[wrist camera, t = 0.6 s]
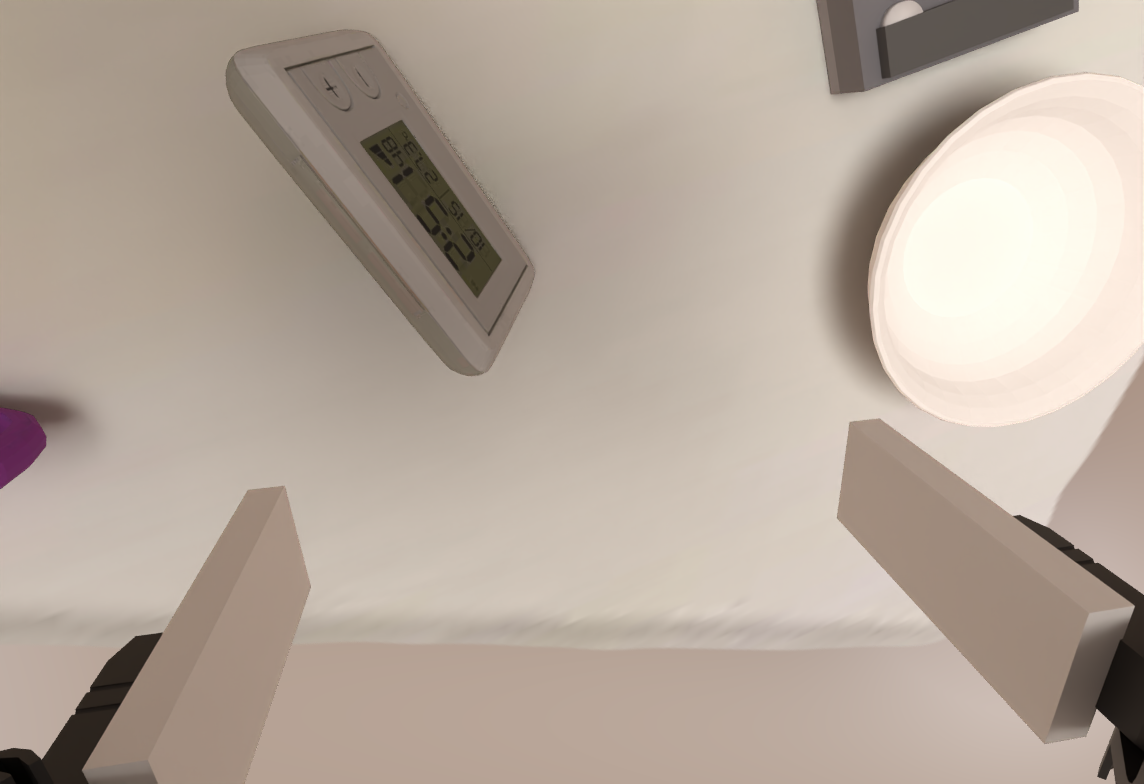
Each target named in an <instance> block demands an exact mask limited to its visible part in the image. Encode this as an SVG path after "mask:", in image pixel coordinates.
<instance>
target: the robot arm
mask: <svg viewBox="0 0 1144 784" xmlns="http://www.w3.org/2000/svg"><path fill="white" fill-rule="evenodd" d="M837 519H838V520H839V521H840V522H841V523H842V524H843V525H844V526H845V527H846V528H847V530H848V531H849V532H850V533H851V534H852V535H853V536H854V537H855V538H856V539H857V540H858V542H859V543H860V544H861V545H862V546H863V547H864V548H865V549H866V550H867V551H868V552H869V553H870V555H871V556H872V557H873V558H874V559H875V560H876V561H877V562H878V563H879V564H880V565H881V567H882V568H883V569H884V570H885V571H886V572H887V573H888V574H889V575H890V576H891V577H892V579H893V580H894V581H895V582H896V583H897V584H898V585H899V586H900V587H901V588H902V589H903V590H904V592H905V593H906V594H907V595H908V596H909V597H910V598H911V599H912V600H913V601H914V602H915V604H916V605H917V606H918V607H919V608H920V609H921V610H922V611H923V612H924V613H925V614H926V616H927V617H928V618H929V619H930V620H931V621H932V622H933V623H934V624H935V625H936V626H937V627H938V629H939V630H940V631H941V632H942V633H943V634H944V635H945V636H946V637H947V638H948V639H949V640H950V642H951V643H952V644H953V645H954V646H955V647H956V648H957V649H958V650H959V651H960V652H961V654H962V655H963V656H964V657H965V658H966V659H967V660H968V661H969V662H970V663H971V664H972V666H973V667H974V668H975V669H976V670H977V671H978V672H979V673H980V674H981V675H982V676H983V677H984V679H985V680H986V681H987V682H988V683H989V684H990V685H991V686H992V687H993V688H994V689H995V690H996V692H997V693H998V694H999V695H1000V696H1001V697H1002V698H1003V699H1004V700H1005V701H1006V703H1007V704H1008V705H1009V706H1010V707H1011V708H1012V709H1013V710H1014V711H1015V712H1016V713H1017V714H1018V716H1019V717H1020V718H1021V719H1022V720H1023V721H1024V722H1025V723H1026V724H1027V725H1028V726H1029V727H1030V729H1031V730H1032V731H1033V732H1034V733H1035V734H1036V735H1037V736H1038V737H1039V738H1040V739H1041V741H1042V742H1043V743H1044V744H1047V743H1053V742H1058V741H1064V740H1070V739H1074V738H1081V737H1086V736H1087V733H1088V731H1089V728H1090V725H1091V723H1092V720H1093V717H1094V715H1095V712H1096V709H1098V710H1099V711H1100V712H1101V713H1102V714H1103V715H1104V716H1105V717H1106V718H1107V719H1108V720H1109V721H1111V723H1113V724H1114V725H1115V729H1114V731H1113V734H1112V736H1111V739H1110V741H1109V744H1108V746H1107V749H1106V752H1105V754H1104V757H1103V759H1102V762H1101V764H1100V767H1099V772H1098V777H1099V778H1102V779H1105V780H1106V778H1107V776H1108V773H1109V771H1110V769H1113V768H1114V775H1115V781H1116V784H1144V595H1143V594H1142V593H1140V592H1139V591H1137V590H1136V589H1134V588H1133V587H1132V586H1130V585H1129V584H1128V583H1126V582H1125V581H1123V580H1122V579H1120V578H1119V577H1118V576H1116V575H1115V574H1113V573H1112V572H1111V571H1109V570H1108V569H1106V568H1105V567H1104V566H1102V565H1101V564H1099V563H1094V561H1093V559H1092V558H1091V557H1089V556H1088V555H1087V554H1085V553H1084V552H1082V551H1081V550H1079V549H1074V545H1072V544H1071V543H1070V542H1068V541H1067V540H1065V539H1064V538H1063V537H1061V536H1060V535H1058V534H1057V533H1055V532H1054V531H1052V530H1051V529H1050V528H1048V527H1045V526H1043V525H1041V524H1039V523H1036V522H1034V521H1032V520H1030V519H1027V518H1025V517H1023V516H1021V515H1017V516H1012V515H1010V514H1009V513H1008V512H1006V511H1005V510H1003V509H1002V508H1001V507H999V506H998V505H997V504H995V503H994V502H993V501H991V500H990V499H988V498H987V497H986V496H984V495H983V494H982V493H980V492H979V491H978V490H976V489H975V488H973V487H972V486H971V485H969V484H968V483H967V482H965V481H964V480H963V479H961V478H960V477H958V476H957V475H956V474H954V473H953V472H952V471H950V470H949V469H948V468H946V467H945V466H943V465H942V464H941V463H939V462H938V461H937V460H935V459H934V458H933V457H931V456H930V455H928V454H927V453H926V452H924V451H923V450H922V449H920V448H919V447H918V446H916V445H915V444H913V443H912V442H911V441H909V440H908V439H907V438H905V437H904V436H903V435H901V434H900V433H898V432H897V431H896V430H894V429H893V428H892V427H890V426H889V425H888V424H886V423H885V422H883V421H882V420H881V419H871V420H862V421H853V422H850V424H849V431H848V439H847V446H846V454H845V461H844V469H843V476H842V484H841V491H840V498H839V506H838V513H837ZM310 588H311V585H310V582H309V578H308V574H307V570H306V566H305V562H304V558H303V554H302V551H301V547H300V543H299V539H298V535H297V531H296V527H295V524H294V520H293V516H292V512H291V508H290V504H289V500H288V497H287V493H286V489H285V486H279V487H270V488H261V489H253V490H248V491H247V493H246V494H245V496H244V498H243V499H242V501H241V503H240V504H239V506H238V508H237V509H236V511H235V513H234V515H233V516H232V518H231V520H230V521H229V523H228V525H227V526H226V528H225V530H224V531H223V533H222V535H221V536H220V538H219V540H218V541H217V543H216V545H215V547H214V548H213V550H212V552H211V553H210V555H209V557H208V558H207V560H206V562H205V563H204V565H203V567H202V568H201V570H200V572H199V574H198V575H197V577H196V579H195V580H194V582H193V584H192V585H191V587H190V589H189V590H188V592H187V594H186V595H185V597H184V599H183V600H182V602H181V604H180V606H179V607H178V609H177V611H176V612H175V614H174V616H173V617H172V619H171V621H170V622H169V624H168V626H167V627H166V629H165V631H164V633H157V634H149V635H142V636H135V637H134V638H133V639H132V640H131V641H130V642H129V643H128V644H126V645H125V646H124V647H123V648H122V649H121V650H120V651H118V652H117V653H116V654H115V655H114V656H113V657H112V658H111V659H109V660H108V662H107V663H106V664H105V666H104V667H103V669H102V670H101V672H100V673H99V675H98V676H97V678H96V679H95V681H94V682H93V684H92V685H91V687H90V692H88V693H86V694H85V696H84V697H83V699H82V700H81V702H80V703H79V705H78V706H77V708H76V713H75V715H72V716H71V717H70V718H69V720H68V721H67V723H66V724H65V726H64V728H63V729H62V730H61V732H60V733H59V735H58V737H57V738H56V740H55V741H54V743H53V744H52V746H51V747H50V749H49V750H48V752H47V753H46V755H45V756H44V758H43V759H42V760H41V758H39V757H38V756H37V755H36V754H35V753H34V752H33V751H32V750H28V749H18V748H11V749H7V750H3V751H0V784H245V780H246V777H247V775H248V772H249V769H250V766H251V763H252V760H253V757H254V754H255V751H256V748H257V745H258V742H259V739H260V736H261V733H262V730H263V727H264V724H265V721H266V718H267V716H268V713H269V710H270V706H271V704H272V700H273V698H274V695H275V692H276V689H277V686H278V683H279V680H280V677H281V674H282V671H283V668H284V665H285V662H286V659H287V656H288V653H289V650H290V647H291V644H292V641H293V638H294V635H295V632H296V629H297V626H298V624H299V621H300V618H301V615H302V612H303V609H304V606H305V603H306V600H307V597H308V594H309V591H310Z"/></svg>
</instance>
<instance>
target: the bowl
mask: <svg viewBox="0 0 1144 784" xmlns="http://www.w3.org/2000/svg"><path fill="white" fill-rule="evenodd" d="M867 293H868V300H869V312H870V320H871V327H872V335H873V342H874V344H875V347H876V350H877V353H878V355H879V358H880V361H881V364H882V366H883V369H884V370H885V372H886V373H887V375H888V376H889V378H890V379H891V381H892V382H893V384H894V385H895V387H896V388H897V390H898V391H899V392H900V393H901V394H903V395H904V396H905V397H906V398H907V399H908V400H909V401H911V402H912V403H913V404H914V405H915V406H916V407H917V408H919V409H921V410H923V411H925V412H927V413H929V414H931V415H933V416H935V417H937V418H939V419H941V420H944V421H949V422H953V423H957V424H961V425H966V426H995V427H998V426H1003V425H1009V424H1015V423H1020V422H1026V421H1029V420H1032V419H1035V418H1037V417H1040V416H1043V415H1046V414H1049V413H1051V412H1054V411H1056V410H1058V409H1060V408H1062V407H1064V406H1066V405H1068V404H1069V403H1071V402H1073V401H1075V400H1077V399H1079V398H1081V397H1082V396H1084V395H1086V394H1087V393H1088V392H1090V391H1091V390H1092V389H1094V388H1095V387H1096V386H1098V385H1099V384H1101V383H1102V382H1103V381H1105V380H1106V379H1107V378H1109V377H1110V376H1111V375H1112V374H1113V373H1115V372H1116V371H1117V370H1118V369H1119V368H1120V367H1121V366H1122V365H1123V364H1124V363H1125V362H1126V361H1127V360H1128V359H1129V358H1130V357H1131V356H1132V355H1133V354H1134V353H1135V352H1136V351H1137V350H1138V349H1139V348H1140V346H1141V345H1142V344H1143V343H1144V86H1141V85H1139V84H1136V83H1134V82H1131V81H1129V80H1127V79H1124V78H1122V77H1119V76H1114V75H1105V74H1097V73H1088V72H1083V73H1075V74H1067V75H1059V76H1052V77H1048V78H1045V79H1042V80H1039V81H1036V82H1034V83H1031V84H1028V85H1025V86H1022V87H1019V88H1017V89H1014V90H1012V91H1010V92H1009V93H1007V94H1005V95H1004V96H1002V97H1000V98H998V99H997V100H995V101H993V102H991V103H990V104H988V105H986V106H985V107H983V108H981V109H979V110H978V111H977V112H976V113H974V114H973V115H972V116H971V117H970V118H968V119H967V120H966V121H965V122H964V123H962V124H961V125H960V126H959V127H958V128H956V129H955V130H954V131H953V132H952V133H950V134H949V135H948V136H947V137H946V138H945V139H944V140H943V141H942V142H941V144H940V145H939V146H938V147H937V148H936V149H935V150H934V151H933V152H932V153H930V154H929V155H928V156H927V157H926V158H925V159H924V160H923V162H922V163H921V164H920V165H919V166H918V167H917V168H916V170H915V171H914V172H913V173H912V174H911V175H910V176H909V178H908V179H907V180H906V181H905V183H904V184H903V186H902V187H901V189H900V191H899V192H898V194H897V195H896V197H895V198H894V200H893V202H892V203H891V205H890V206H889V208H888V210H887V213H886V215H885V217H884V220H883V222H882V224H881V227H880V229H879V231H878V233H877V236H876V240H875V244H874V248H873V252H872V256H871V260H870V264H869V276H868V291H867Z"/></svg>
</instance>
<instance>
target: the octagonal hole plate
mask: <svg viewBox="0 0 1144 784" xmlns="http://www.w3.org/2000/svg"><path fill="white" fill-rule="evenodd" d="M817 6H818V12H819V19H820V25H821V32H822V38H823V45H824V51H825V58H826V64H827V71H828V77H829V84H830V90H831V94H839V93H851V92H862V91H867V90H870V89H872V88H875V87H878V86H880V85H883V84H886V83H888V82H891V81H894V80H896V79H899V78H902V77H904V76H907V75H910V74H912V73H915V72H918V71H920V70H923V69H926V68H928V67H931V66H934V65H936V64H939V63H942V62H944V61H947V60H950V59H952V58H955V57H958V56H960V55H963V54H966V53H968V52H971V51H974V50H976V49H979V48H982V47H984V46H987V45H990V44H992V43H995V42H998V41H1000V40H1003V39H1006V38H1008V37H1011V36H1014V35H1016V34H1019V33H1022V32H1024V31H1027V30H1030V29H1032V28H1035V27H1038V26H1040V25H1043V24H1046V23H1048V22H1051V21H1054V20H1057V19H1059V18H1062V17H1065V16H1067V15H1070V14H1073V13H1075V12H1078V11H1079V0H817Z"/></svg>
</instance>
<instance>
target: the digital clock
mask: <svg viewBox="0 0 1144 784" xmlns="http://www.w3.org/2000/svg"><path fill="white" fill-rule="evenodd" d="M226 86H227V90H228V94H229V96H230V99H231V101H232V102H233V104H234V105H235V107H236V109H237V110H238V111H239V113H240V114H241V115H242V116H243V118H244V119H245V120H246V122H247V123H248V124H249V125H250V127H251V128H252V129H253V130H254V132H255V133H256V134H257V135H258V137H259V138H260V139H261V140H262V142H263V143H264V144H265V145H266V147H267V148H268V149H269V150H270V152H271V153H272V154H273V155H274V157H275V158H276V159H277V160H278V162H279V163H280V164H281V165H282V166H283V168H284V169H285V170H286V171H287V173H288V174H289V175H290V176H291V177H292V179H293V180H294V181H295V182H296V184H297V185H298V186H299V187H300V188H301V190H302V191H303V192H304V193H305V195H306V196H307V197H308V198H309V200H310V201H311V202H312V203H313V204H314V206H315V207H316V208H317V209H318V211H319V212H320V213H321V214H322V215H323V217H324V218H325V219H326V220H327V222H328V223H329V224H330V225H331V226H332V228H333V229H334V230H335V231H336V233H337V234H338V235H339V236H340V237H341V239H342V240H343V241H344V242H345V244H346V245H347V246H348V247H349V248H350V250H351V251H352V252H353V253H354V255H355V256H356V257H357V258H358V259H359V261H360V262H361V263H362V264H363V266H364V267H365V268H366V269H367V270H368V272H369V273H370V274H371V275H372V277H373V278H374V279H375V280H376V281H377V283H378V284H379V285H380V286H381V288H382V289H383V290H384V291H385V293H386V294H387V295H388V296H389V297H390V299H391V300H392V301H393V302H394V304H395V305H396V306H397V307H398V308H399V310H400V311H401V312H402V313H403V315H404V316H405V317H406V318H407V319H408V321H409V322H410V323H411V324H412V326H413V327H414V328H415V329H416V330H417V332H418V333H419V334H420V335H421V336H422V338H423V339H424V340H425V341H426V343H427V344H428V345H429V346H430V347H431V348H432V350H433V351H434V352H435V353H436V354H437V355H438V357H439V358H440V359H441V360H442V361H443V362H444V363H445V364H446V365H447V366H448V367H449V368H450V369H451V370H453V371H455V372H457V373H460V374H463V375H467V376H475V375H480V374H483V373H484V372H487V371H488V370H489V369H490V367H491V366H492V364H493V362H494V361H495V359H496V357H497V355H498V353H499V351H500V349H501V347H502V345H503V343H504V341H505V339H506V337H507V335H508V333H509V331H510V329H511V327H512V325H513V323H514V321H515V319H516V317H517V315H518V313H519V311H520V309H521V307H522V305H523V303H524V301H525V299H526V297H527V295H528V293H529V291H530V288H531V285H532V283H533V279H534V275H535V272H534V268H533V265H532V264H531V262H530V260H529V259H528V257H527V256H526V254H525V253H524V251H523V250H522V248H521V247H520V245H519V244H518V242H517V241H516V239H515V238H514V236H513V235H512V233H511V232H510V231H509V229H508V228H507V226H506V225H505V223H504V222H503V220H502V219H501V218H500V216H499V215H498V213H497V212H496V210H495V209H494V207H493V206H492V205H491V203H490V202H489V200H488V199H487V197H486V196H485V194H484V193H483V192H482V190H481V189H480V187H479V186H478V184H477V183H476V181H475V180H474V179H473V177H472V176H471V174H470V173H469V171H468V170H467V168H466V167H465V166H464V164H463V163H462V161H461V160H460V158H459V157H458V155H457V154H456V153H455V151H454V150H453V148H452V147H451V145H450V144H449V142H448V141H447V140H446V138H445V137H444V135H443V134H442V132H441V131H440V129H439V128H438V127H437V125H436V124H435V122H434V121H433V119H432V118H431V116H430V115H429V114H428V112H427V111H426V109H425V108H424V106H423V105H422V103H421V102H420V101H419V99H418V98H417V96H416V95H415V93H414V92H413V90H412V89H411V88H410V86H409V85H408V83H407V82H406V80H405V79H404V78H403V76H402V75H401V73H400V72H399V70H398V69H397V68H396V66H395V65H394V63H393V62H392V61H391V59H390V58H389V56H388V55H387V54H386V52H385V51H384V49H383V48H382V47H381V45H380V44H379V43H378V41H377V40H376V39H375V38H374V37H373V36H372V35H371V34H369V33H367V32H363V31H356V30H337V31H332V32H327V33H321V34H316V35H311V36H306V37H300V38H295V39H290V40H284V41H279V42H274V43H269V44H263V45H258V46H254V47H250V48H246V49H242V50H240V51H238V52H237V53H235V54H234V56H233V57H232V58H231V59H230V61H229V62H228V65H227V69H226Z"/></svg>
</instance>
